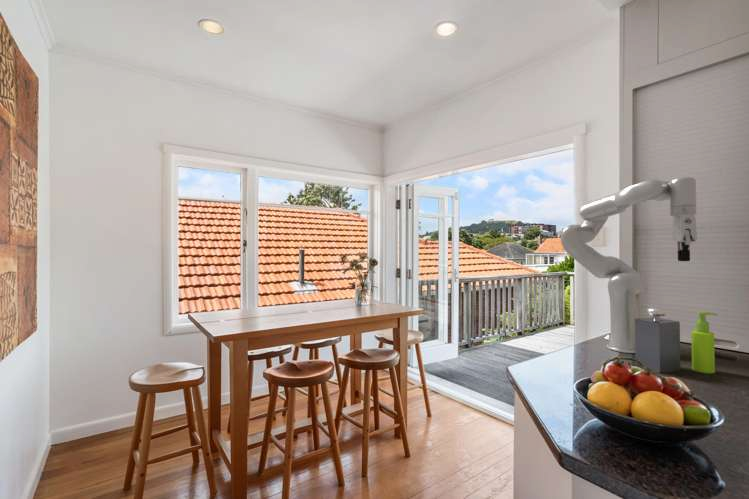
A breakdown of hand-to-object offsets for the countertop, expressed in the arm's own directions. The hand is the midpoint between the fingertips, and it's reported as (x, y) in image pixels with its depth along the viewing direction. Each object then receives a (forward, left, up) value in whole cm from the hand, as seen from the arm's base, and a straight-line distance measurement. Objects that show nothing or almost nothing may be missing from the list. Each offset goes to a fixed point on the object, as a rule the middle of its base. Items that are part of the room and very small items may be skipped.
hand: (683, 260), depth 139 cm
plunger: (+3, -17, -36) cm, 39 cm away
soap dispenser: (+10, -5, -37) cm, 39 cm away
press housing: (+3, -17, -37) cm, 41 cm away
